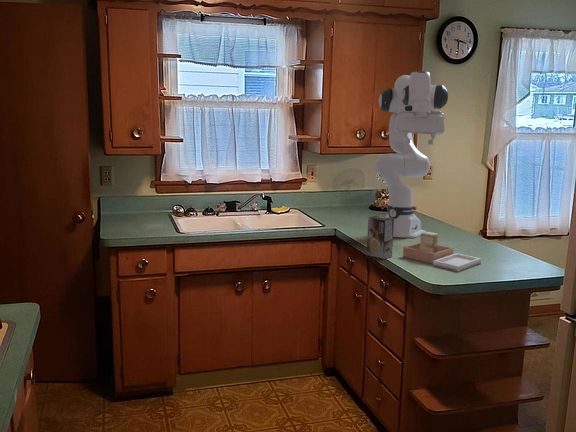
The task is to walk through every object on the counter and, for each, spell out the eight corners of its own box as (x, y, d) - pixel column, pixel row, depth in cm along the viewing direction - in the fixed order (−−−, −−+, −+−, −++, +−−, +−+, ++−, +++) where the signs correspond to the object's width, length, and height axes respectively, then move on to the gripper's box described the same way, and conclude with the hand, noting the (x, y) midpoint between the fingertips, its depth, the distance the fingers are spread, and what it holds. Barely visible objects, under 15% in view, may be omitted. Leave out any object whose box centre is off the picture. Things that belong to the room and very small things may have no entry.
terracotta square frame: (422, 250, 256) (422, 241, 256) (452, 257, 246) (453, 248, 246) (403, 256, 246) (403, 247, 246) (433, 263, 236) (434, 253, 235)
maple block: (425, 254, 250) (427, 231, 248) (436, 257, 246) (438, 233, 244) (419, 256, 246) (420, 233, 244) (429, 259, 243) (431, 235, 241)
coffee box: (392, 256, 246) (395, 218, 243) (383, 259, 241) (385, 220, 238) (375, 252, 252) (377, 215, 249) (365, 254, 248) (367, 217, 245)
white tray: (456, 257, 246) (456, 253, 246) (480, 263, 238) (481, 258, 238) (432, 265, 234) (433, 260, 233) (458, 271, 226) (458, 266, 226)
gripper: (440, 113, 245) (440, 146, 244) (393, 110, 241) (392, 144, 241) (447, 110, 238) (446, 144, 237) (398, 106, 235) (397, 141, 234)
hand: (419, 144), depth 239 cm, fingers open, 8 cm apart
